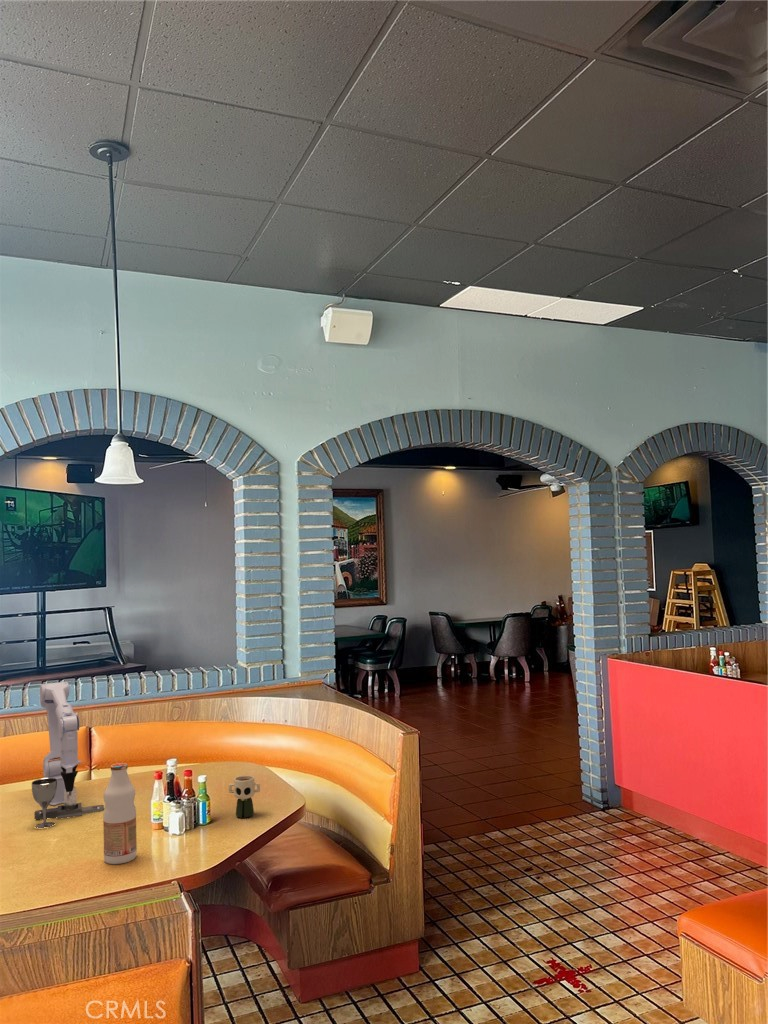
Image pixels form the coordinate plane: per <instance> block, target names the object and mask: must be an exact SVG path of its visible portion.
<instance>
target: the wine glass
mask: <svg viewBox="0 0 768 1024" xmlns="http://www.w3.org/2000/svg"><path fill="white" fill-rule="evenodd" d="M56 789H57V779H56V778H45V777H43V778H39V779H35V780H33V781H32V782H31V794H32V798H33V800H34V801H35V802H36V804H38V805H39V806H40V807H41V810H43V820H42V822H39V823H40V824H39V823H38V824H35V825H36V826H35V825H34V826H35V827H36V828H37V827H38V828H44V827H50V826H52V825H54V824H55V823H56V822H55V823H54V821H47V819H46V810H47V809H48V808H49V807H48V806H49V805H50V804H49V803H50V802H51V801H52V800H53V798H54V797H55V794H56Z"/></svg>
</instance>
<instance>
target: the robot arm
mask: <svg viewBox="0 0 768 1024" xmlns="http://www.w3.org/2000/svg"><path fill="white" fill-rule="evenodd" d="M69 696H70V685H69V682H68V681H61V682H54V683H53V682H49V683H45V684H44V683H41V685H40V686H39V701H40V703H39V704H40V706H41V708H44V709H45V711H46V714H47V725H48V736H49V738H48V739H49V740H48V741H49V752H48V754H46V755H45V756H44V758H43V759H42V763H43V764H42V773H43V778H56V779H57V789H56V794H55V797H54V798H53V800H52V801H51V802H50V803H49V805H50V806H53V807H54V806H58V805H62V804H64V789H66V792H70V791H73V787H75V780H76V777H77V775H78V773H79V770H77V768H78V765H79V764H82V759H81V760H79V756H78V755H79V753H78V750H79V748H78V747H79V746H78V745H79V742H78V741H79V739H78V732H79V731H80V727H81V726H80V725H81V722H80V717H79V715H78V714H77V713H75V712H74V709H73V706H72V705H71V704H70V703H69V702H68V699H69Z"/></svg>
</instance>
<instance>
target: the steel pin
mask: <svg viewBox="0 0 768 1024" xmlns="http://www.w3.org/2000/svg"><path fill="white" fill-rule="evenodd" d="M77 803H78V802H77V787H76V786H74V787H73V791H70V792H66V789H64V803H63V805H64V810H71V809H77Z"/></svg>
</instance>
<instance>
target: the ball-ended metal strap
mask: <svg viewBox="0 0 768 1024" xmlns="http://www.w3.org/2000/svg"><path fill="white" fill-rule="evenodd" d="M76 803H77V809H71V810H64V804H59V805H57V807H52V808H47V810H46V820H48V819H47V818H52V819H57V820H62V819H61V818H64V819H68V818H67V817H71V818H74V817H73V816H78V817H82V816H83V815H86V813H87V814H93V812H94V813H98V812H99V813H100V812H102V811H103V812H104V809H105V806H104V805H103V804H96V805H90V806H83V805H82V802H76ZM82 806H83V807H82ZM33 812H34V813H33V815H34V817H33V818H34V819H36V820H35V821H41V820H40V819H43V810H42V809H39V810H35V811H33ZM56 817H57V818H56Z"/></svg>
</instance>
